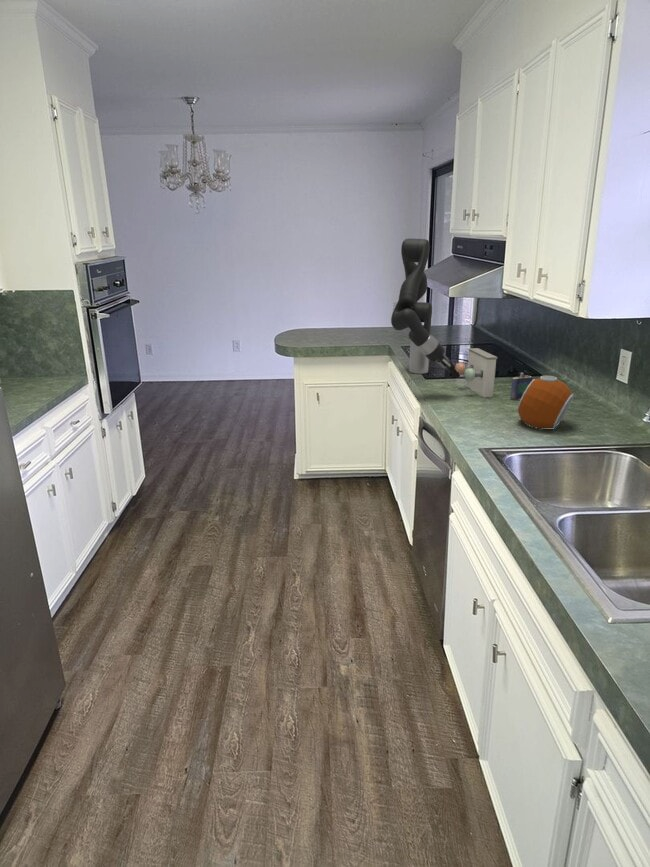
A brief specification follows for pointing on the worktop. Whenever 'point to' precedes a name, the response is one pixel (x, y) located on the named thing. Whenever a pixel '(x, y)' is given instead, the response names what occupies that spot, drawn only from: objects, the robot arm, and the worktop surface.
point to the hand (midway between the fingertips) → (457, 375)
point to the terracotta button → (461, 368)
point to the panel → (487, 365)
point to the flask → (519, 386)
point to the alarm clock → (544, 402)
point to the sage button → (472, 374)
